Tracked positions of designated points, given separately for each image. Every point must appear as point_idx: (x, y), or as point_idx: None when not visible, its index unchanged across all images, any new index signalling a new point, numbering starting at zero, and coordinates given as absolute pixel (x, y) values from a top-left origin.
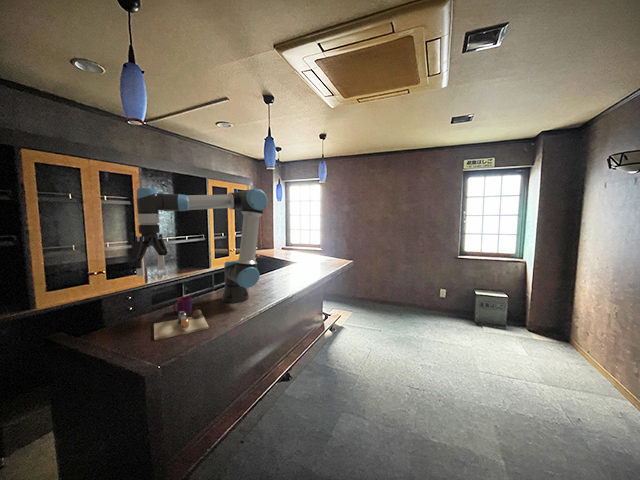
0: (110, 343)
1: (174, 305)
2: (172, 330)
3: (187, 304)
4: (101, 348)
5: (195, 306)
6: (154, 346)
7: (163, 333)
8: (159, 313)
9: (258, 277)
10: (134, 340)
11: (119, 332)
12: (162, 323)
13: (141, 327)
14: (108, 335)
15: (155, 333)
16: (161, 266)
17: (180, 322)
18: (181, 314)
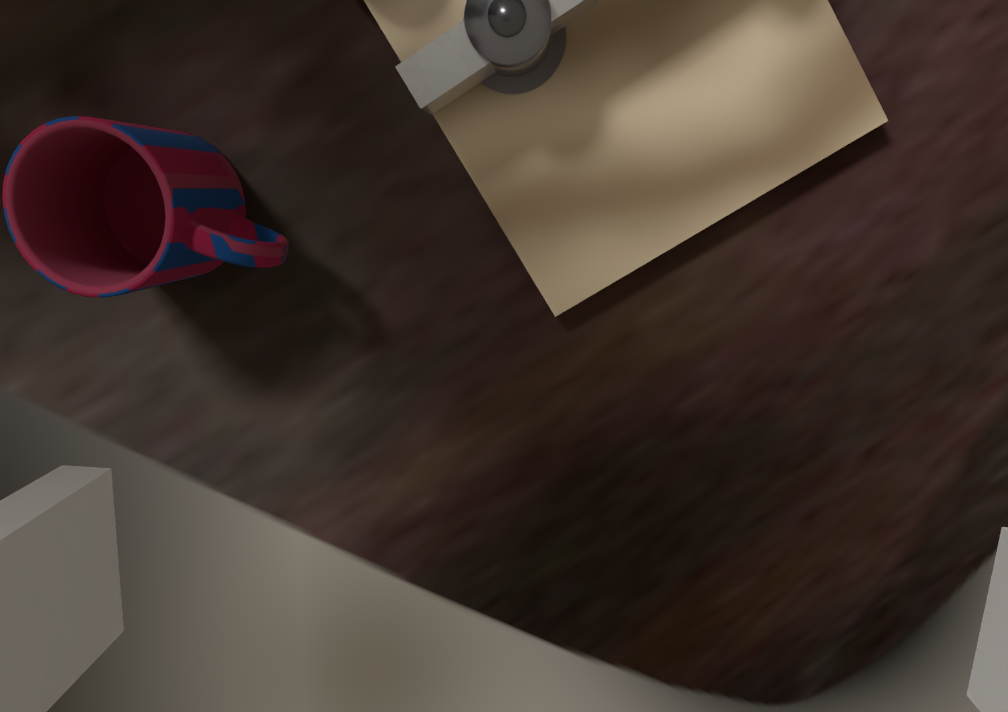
0: (890, 460)
1: (266, 253)
2: (728, 33)
3: (168, 141)
4: (971, 469)
5: None
6: (1000, 50)
7: (795, 86)
8: (250, 437)
9: None
10: (855, 303)
11: (682, 525)
12: (552, 235)
13: (586, 407)
14: (736, 572)
15: (786, 168)
16: (56, 581)
17: None
18: (545, 10)
